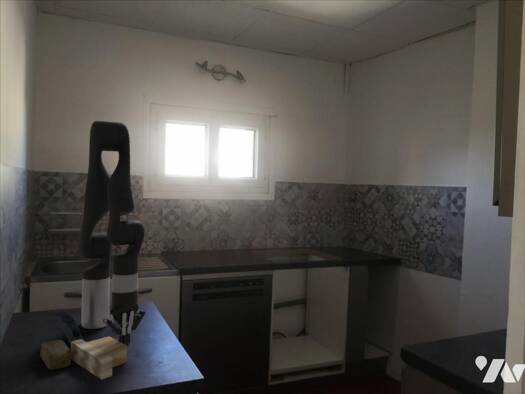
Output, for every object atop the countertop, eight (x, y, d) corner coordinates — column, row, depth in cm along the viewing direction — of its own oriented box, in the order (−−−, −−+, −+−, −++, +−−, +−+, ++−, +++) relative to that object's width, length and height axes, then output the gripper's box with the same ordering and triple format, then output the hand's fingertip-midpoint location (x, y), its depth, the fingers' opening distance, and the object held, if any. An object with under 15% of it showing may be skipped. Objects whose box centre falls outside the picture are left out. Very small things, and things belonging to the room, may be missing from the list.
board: (70, 358, 118) (70, 341, 117) (80, 355, 120) (81, 339, 120) (101, 379, 106) (101, 360, 106) (112, 375, 108) (112, 357, 108)
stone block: (49, 373, 109) (49, 354, 109) (39, 358, 118) (39, 341, 118) (72, 367, 113) (72, 349, 113) (60, 353, 122) (61, 337, 121)
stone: (93, 344, 128) (93, 313, 128) (77, 351, 123) (78, 319, 122) (62, 337, 134) (62, 307, 133) (45, 343, 128) (46, 312, 128)
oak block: (85, 359, 118) (86, 342, 118) (108, 352, 123) (109, 336, 123) (103, 370, 111) (103, 352, 111) (126, 362, 116) (126, 345, 116)
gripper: (137, 282, 127) (137, 336, 128) (97, 289, 117) (96, 348, 118) (151, 286, 122) (150, 343, 123) (110, 295, 112) (109, 356, 113)
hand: (124, 345), depth 120 cm, fingers closed
